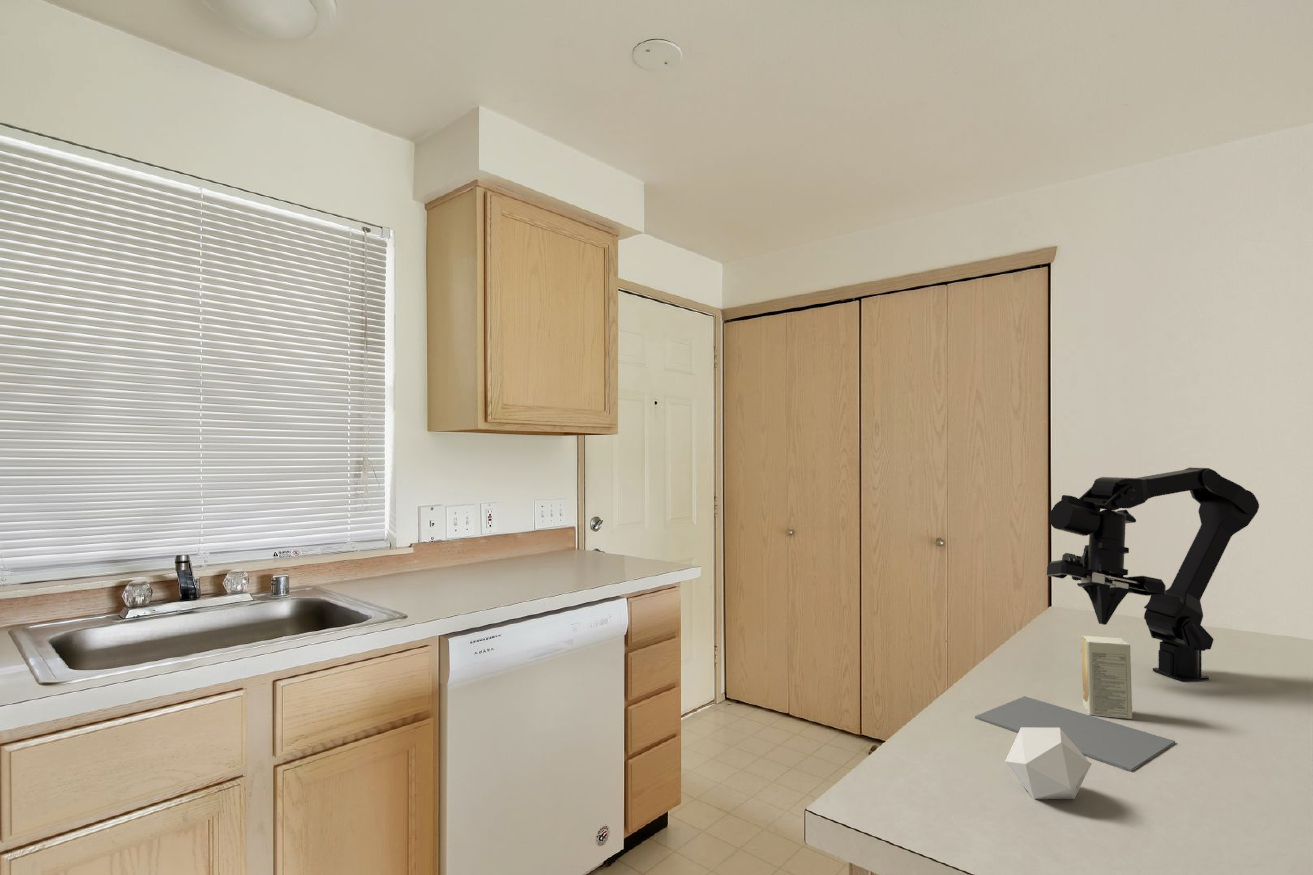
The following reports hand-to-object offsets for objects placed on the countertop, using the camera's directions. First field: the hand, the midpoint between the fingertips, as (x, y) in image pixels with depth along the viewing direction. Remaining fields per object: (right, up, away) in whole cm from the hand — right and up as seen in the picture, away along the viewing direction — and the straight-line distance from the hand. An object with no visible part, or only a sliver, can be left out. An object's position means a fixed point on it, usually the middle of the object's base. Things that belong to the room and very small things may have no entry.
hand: (1102, 624), depth 126 cm
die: (-33, -11, -40) cm, 53 cm away
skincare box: (-8, -11, -13) cm, 19 cm away
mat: (-18, -11, -21) cm, 30 cm away
